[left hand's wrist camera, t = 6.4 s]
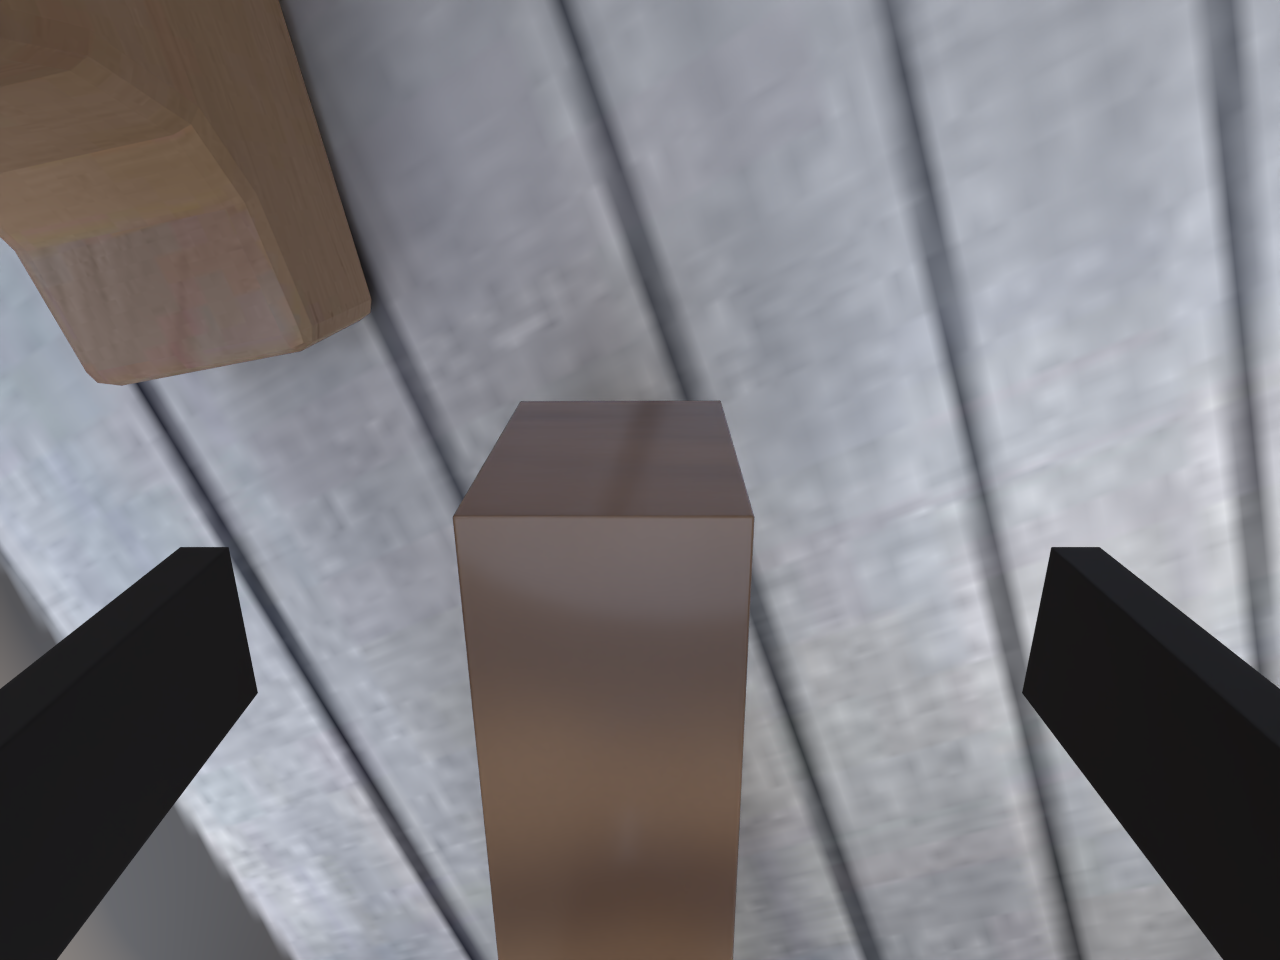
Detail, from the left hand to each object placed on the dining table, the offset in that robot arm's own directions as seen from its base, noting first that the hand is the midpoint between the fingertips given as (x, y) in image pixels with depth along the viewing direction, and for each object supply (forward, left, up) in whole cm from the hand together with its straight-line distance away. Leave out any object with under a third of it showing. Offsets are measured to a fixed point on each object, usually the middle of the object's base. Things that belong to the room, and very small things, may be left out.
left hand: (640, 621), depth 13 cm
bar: (+16, +3, -11) cm, 20 cm away
